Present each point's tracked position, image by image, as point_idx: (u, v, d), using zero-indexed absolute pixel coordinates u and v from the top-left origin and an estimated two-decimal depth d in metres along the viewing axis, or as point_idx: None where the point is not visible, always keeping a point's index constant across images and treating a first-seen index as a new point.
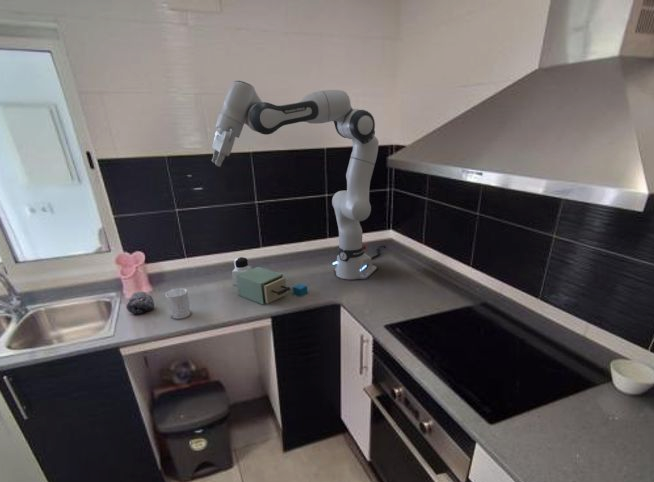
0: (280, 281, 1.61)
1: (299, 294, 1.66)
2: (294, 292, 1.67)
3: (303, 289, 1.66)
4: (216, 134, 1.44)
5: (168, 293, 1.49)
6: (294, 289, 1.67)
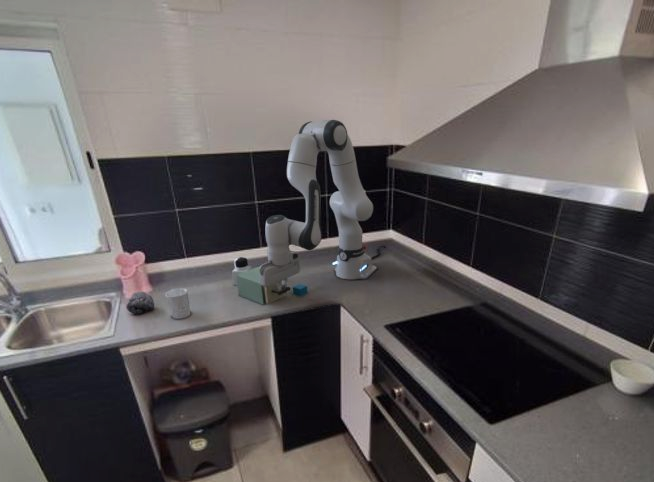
0: None
1: (299, 294, 1.66)
2: (294, 292, 1.67)
3: (303, 289, 1.66)
4: None
5: (168, 293, 1.49)
6: (294, 289, 1.67)
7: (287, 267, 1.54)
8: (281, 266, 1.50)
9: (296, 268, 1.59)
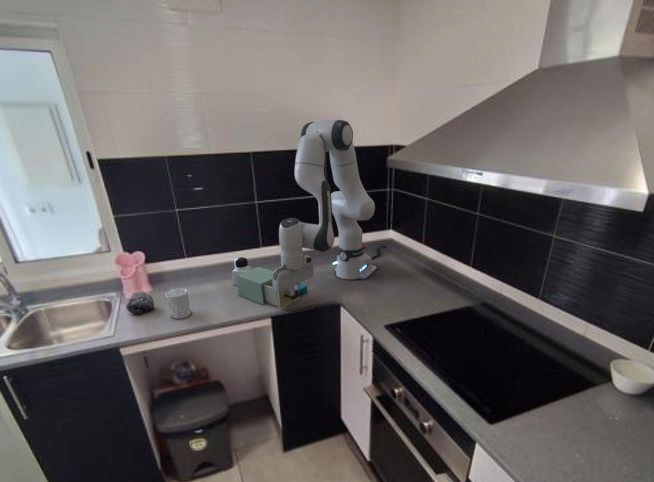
0: None
1: None
2: None
3: (303, 289, 1.66)
4: None
5: (168, 293, 1.49)
6: None
7: (300, 271, 1.50)
8: (295, 270, 1.46)
9: (310, 272, 1.55)
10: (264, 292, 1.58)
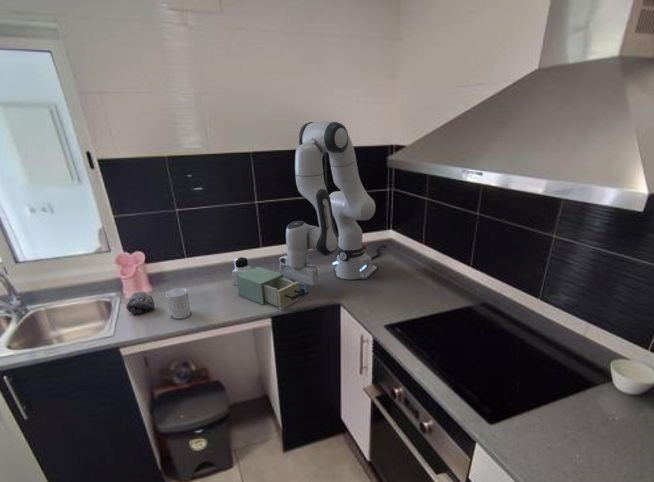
0: (293, 285, 1.56)
1: None
2: None
3: None
4: (282, 266, 1.66)
5: (168, 293, 1.49)
6: None
7: None
8: None
9: None
10: (264, 292, 1.58)
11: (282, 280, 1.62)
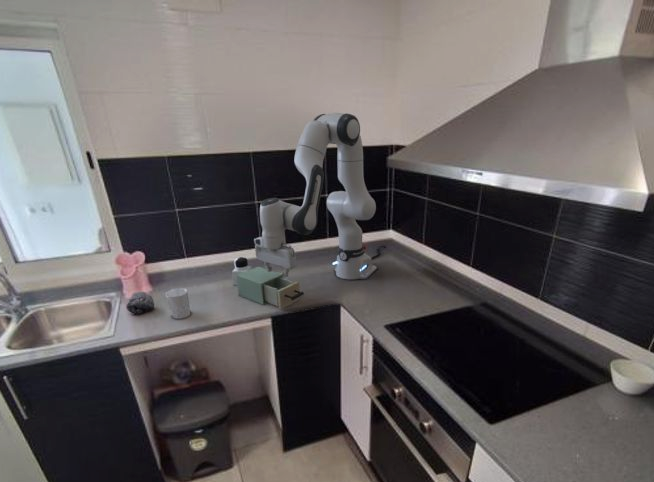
0: (293, 285, 1.56)
1: None
2: None
3: None
4: (258, 248, 1.54)
5: (168, 293, 1.49)
6: None
7: None
8: None
9: None
10: (264, 292, 1.58)
11: (282, 280, 1.62)
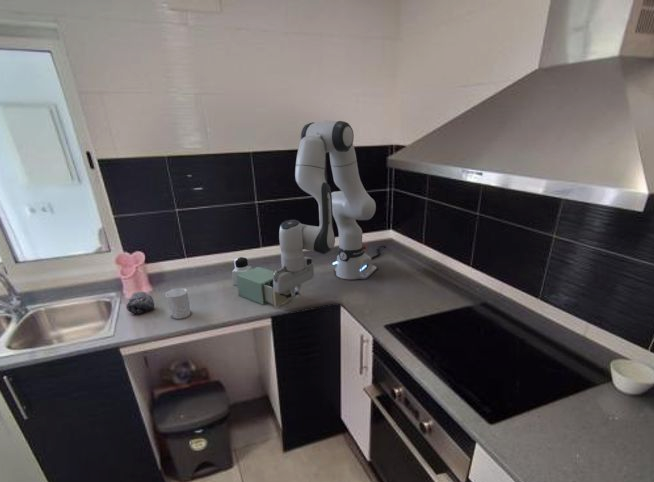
0: None
1: None
2: None
3: None
4: None
5: (168, 293, 1.49)
6: None
7: (301, 273, 1.51)
8: (295, 272, 1.46)
9: (310, 274, 1.55)
10: None
11: None
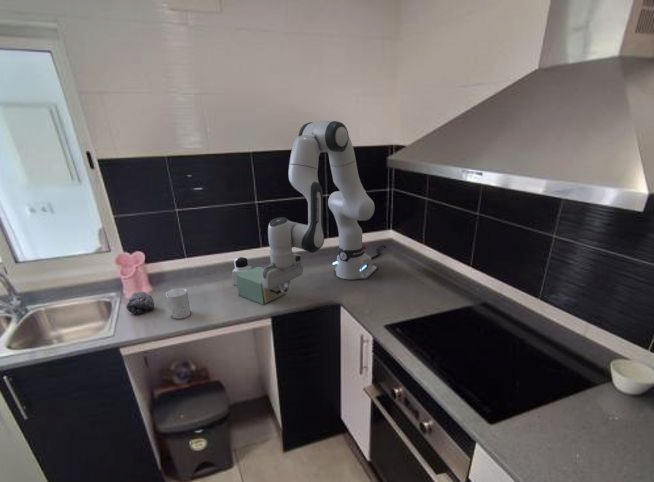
0: None
1: None
2: None
3: None
4: None
5: (168, 293, 1.49)
6: None
7: (290, 269, 1.54)
8: (284, 269, 1.50)
9: (299, 270, 1.58)
10: None
11: None
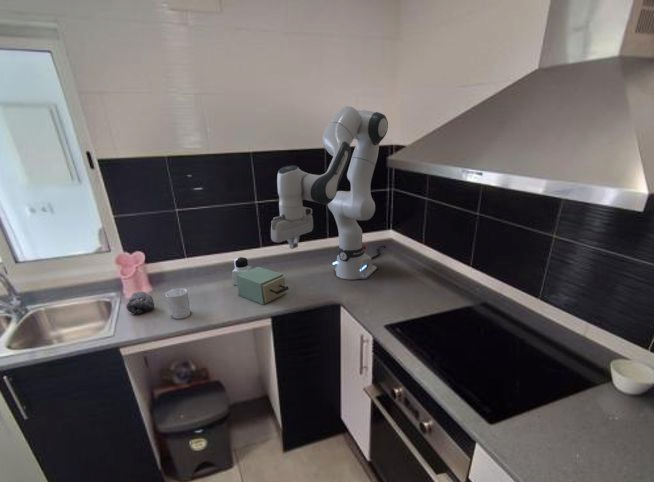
0: (278, 280, 1.61)
1: None
2: None
3: None
4: None
5: (168, 293, 1.49)
6: None
7: (300, 223, 1.46)
8: (294, 221, 1.42)
9: (309, 226, 1.51)
10: None
11: None
